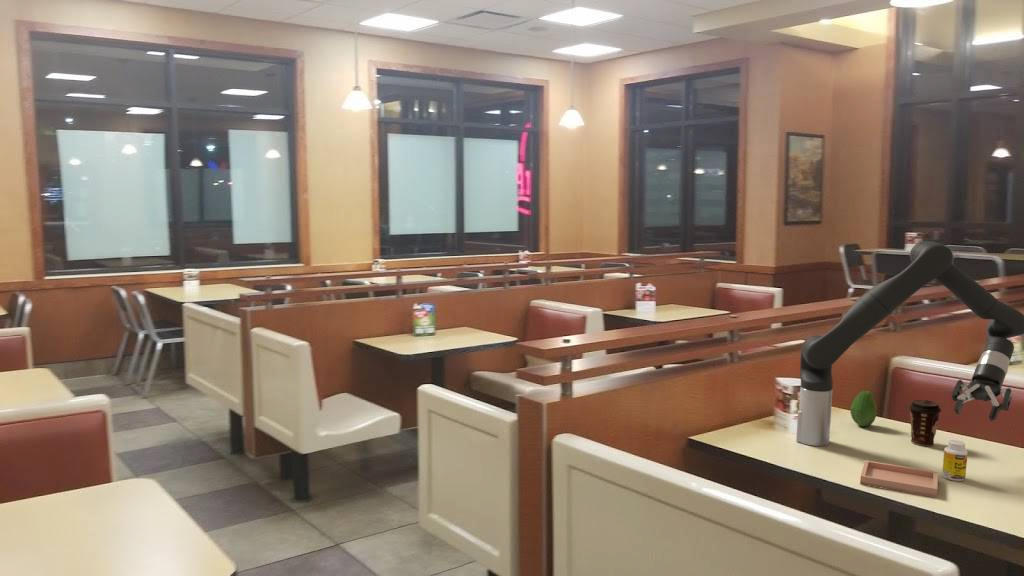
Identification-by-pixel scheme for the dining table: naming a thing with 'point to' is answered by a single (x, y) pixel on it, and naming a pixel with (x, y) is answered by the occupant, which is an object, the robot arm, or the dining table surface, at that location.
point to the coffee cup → (924, 421)
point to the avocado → (863, 409)
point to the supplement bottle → (955, 461)
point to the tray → (900, 478)
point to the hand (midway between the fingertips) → (973, 416)
